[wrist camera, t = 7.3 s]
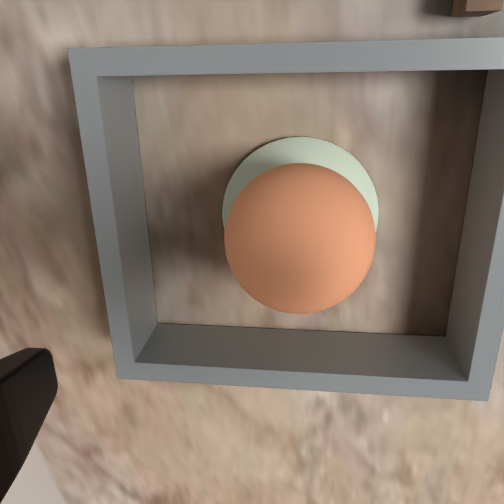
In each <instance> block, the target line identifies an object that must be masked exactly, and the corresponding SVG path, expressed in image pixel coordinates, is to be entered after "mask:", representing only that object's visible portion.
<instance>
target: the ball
mask: <svg viewBox="0 0 504 504" xmlns="http://www.w3.org/2000/svg"><path fill="white" fill-rule="evenodd" d="M224 244H225V252H226V257H227V261H228V264H229V266H230V269H231V271H232V273H233V274H234V276H235V278H236V280H237V281H238V283H239V284H240V285H241V287H242V288H243V289H244V290H245V291H246V292H247V293H248V294H249V295H250V296H252V297H253V298H254V299H255V300H257V301H259V302H260V303H262V304H264V305H265V306H268V307H270V308H272V309H275V310H278V311H281V312H286V313H293V314H307V313H314V312H318V311H322V310H325V309H327V308H330V307H332V306H334V305H336V304H338V303H340V302H341V301H343V300H344V299H345V298H347V297H348V296H349V295H350V294H351V293H353V292H354V291H355V290H356V288H357V287H358V286H359V285H360V284H361V282H362V281H363V279H364V277H365V276H366V274H367V272H368V270H369V268H370V266H371V263H372V260H373V257H374V251H375V245H376V232H375V224H374V220H373V217H372V213H371V210H370V208H369V206H368V204H367V202H366V200H365V199H364V197H363V195H362V194H361V193H360V192H359V191H358V189H357V188H356V187H355V186H354V185H353V184H352V183H351V182H350V181H349V180H348V179H346V178H345V177H343V176H342V175H341V174H339V173H337V172H335V171H333V170H331V169H329V168H326V167H323V166H320V165H315V164H309V163H292V164H286V165H281V166H277V167H275V168H272V169H269V170H267V171H265V172H263V173H261V174H260V175H258V176H257V177H255V178H254V179H253V180H252V181H250V182H249V183H248V184H247V185H246V186H245V187H244V189H243V190H242V191H241V192H240V193H239V194H238V196H237V198H236V199H235V201H234V202H233V204H232V206H231V209H230V211H229V214H228V217H227V220H226V225H225V231H224Z"/></svg>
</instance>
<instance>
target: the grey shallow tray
mask: <svg viewBox="0 0 504 504" xmlns="http://www.w3.org/2000/svg"><path fill="white" fill-rule="evenodd" d="M67 49H68V56H69V63H70V69H71V76H72V83H73V89H74V96H75V103H76V109H77V116H78V122H79V129H80V136H81V142H82V149H83V156H84V162H85V169H86V176H87V182H88V189H89V195H90V202H91V209H92V215H93V222H94V229H95V235H96V242H97V249H98V255H99V262H100V268H101V275H102V282H103V288H104V295H105V302H106V308H107V315H108V322H109V328H110V335H111V341H112V348H113V355H114V361H115V368H116V375H117V379H134V380H150V381H166V382H182V383H199V384H215V385H231V386H247V387H264V388H280V389H296V390H313V391H329V392H345V393H361V394H378V395H394V396H410V397H426V398H443V399H459V400H475V401H488V399H489V394H490V389H491V384H492V380H493V375H494V370H495V365H496V361H497V356H498V351H499V347H500V342H501V337H502V332H503V328H504V37H497V38H458V39H418V40H379V41H339V42H300V43H260V44H221V45H181V46H142V47H102V48H67ZM481 69H488V73H487V79H486V85H485V92H484V98H483V104H482V110H481V117H480V123H479V129H478V136H477V142H476V148H475V154H474V161H473V167H472V173H471V180H470V186H469V192H468V198H467V205H466V211H465V217H464V224H463V230H462V236H461V242H460V249H459V255H458V261H457V268H456V274H455V280H454V286H453V293H452V299H451V305H450V312H449V318H448V324H447V330H446V337H441V336H420V335H398V334H377V333H355V332H334V331H312V330H291V329H269V328H248V327H226V326H205V325H183V324H162V323H158V320H157V310H156V301H155V291H154V282H153V273H152V263H151V254H150V244H149V235H148V225H147V216H146V206H145V197H144V187H143V178H142V168H141V159H140V150H139V140H138V131H137V121H136V112H135V102H134V93H133V83H132V76H144V75H200V74H256V73H313V72H369V71H425V70H481ZM292 163H309V164H315V165H320V166H323V167H326V168H329V169H331V170H333V171H335V172H337V173H339V174H341V175H342V176H343V177H345V178H346V179H348V180H349V181H350V182H351V183H352V184H353V185H354V186H355V187H356V188H357V189H358V191H359V192H360V193H361V194H362V195H363V197H364V199H365V200H366V202H367V204H368V206H369V208H370V210H371V213H372V217H373V220H374V224H375V232H376V229H377V224H378V214H379V208H378V200H377V195H376V191H375V188H374V186H373V183H372V181H371V179H370V177H369V175H368V174H367V172H366V170H365V169H364V168H363V166H362V165H361V164H360V163H359V161H358V160H357V159H356V158H354V157H353V156H352V155H351V154H350V153H349V152H347V151H346V150H344V149H343V148H341V147H339V146H338V145H336V144H334V143H331V142H329V141H326V140H323V139H318V138H314V137H303V136H299V137H288V138H283V139H279V140H276V141H273V142H270V143H268V144H266V145H264V146H262V147H260V148H259V149H257V150H256V151H254V152H253V153H251V154H250V155H249V156H248V157H247V158H246V159H245V160H244V161H243V162H242V163H241V164H240V165H239V167H238V168H237V169H236V171H235V172H234V174H233V175H232V177H231V179H230V181H229V183H228V185H227V188H226V191H225V194H224V199H223V205H222V219H223V226H224V230H225V225H226V220H227V217H228V214H229V211H230V209H231V206H232V204H233V202H234V201H235V199H236V198H237V196H238V194H239V193H240V192H241V191H242V190H243V189H244V187H245V186H246V185H247V184H248V183H249V182H250V181H252V180H253V179H254V178H255V177H257V176H258V175H260V174H261V173H263V172H265V171H267V170H269V169H272V168H275V167H277V166H281V165H286V164H292Z"/></svg>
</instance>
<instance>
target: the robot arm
mask: <svg viewBox="0 0 504 504" xmlns="http://www.w3.org/2000/svg"><path fill="white" fill-rule="evenodd" d="M57 388H58V383H57V377H56V372H55V368H54V363H53V358H52V354H51V352H50V351H49V350H48V349H46V348H26V349H23V350H21V351H18V352H16V353H14V354H12V355H9V356H7V357H5V358H2V359H0V503H1V501H2V500H3V498H4V496H5V495H6V493H7V492H8V490H9V488H10V486H11V485H12V483H13V481H14V480H15V478H16V476H17V474H18V473H19V471H20V469H21V467H22V466H23V464H24V462H25V460H26V458H27V456H28V454H29V452H30V450H31V447H32V445H33V443H34V441H35V439H36V437H37V435H38V433H39V430H40V428H41V426H42V424H43V422H44V420H45V418H46V416H47V413H48V411H49V409H50V407H51V405H52V403H53V401H54V399H55V396H56V393H57Z"/></svg>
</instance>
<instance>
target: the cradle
mask: <svg viewBox="0 0 504 504" xmlns="http://www.w3.org/2000/svg"><path fill="white" fill-rule="evenodd" d="M502 3H503V0H453V7H452V15H451V17H460V16H484V15H488V14H491V13H494V12H497V11H501V9H502Z"/></svg>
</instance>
